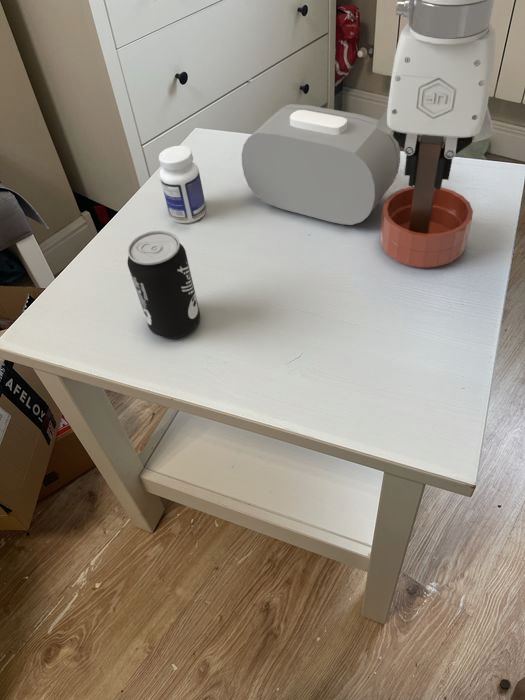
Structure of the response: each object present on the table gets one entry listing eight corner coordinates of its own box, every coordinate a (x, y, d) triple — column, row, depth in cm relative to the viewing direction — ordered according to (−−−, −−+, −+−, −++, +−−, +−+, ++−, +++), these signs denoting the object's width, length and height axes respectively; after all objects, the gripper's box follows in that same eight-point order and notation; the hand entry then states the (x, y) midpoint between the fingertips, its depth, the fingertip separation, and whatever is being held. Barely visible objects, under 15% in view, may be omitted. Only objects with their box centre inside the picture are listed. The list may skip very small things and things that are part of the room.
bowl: (468, 224, 79) (476, 190, 75) (459, 276, 72) (468, 241, 68) (388, 214, 82) (391, 181, 78) (372, 263, 75) (375, 229, 71)
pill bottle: (201, 199, 89) (190, 139, 81) (211, 218, 85) (199, 158, 78) (166, 208, 88) (151, 149, 80) (174, 228, 84) (159, 168, 77)
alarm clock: (397, 201, 84) (406, 113, 74) (371, 237, 79) (378, 147, 69) (276, 172, 92) (271, 89, 82) (246, 203, 87) (236, 119, 77)
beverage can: (189, 346, 68) (168, 269, 59) (140, 336, 70) (113, 261, 61) (208, 308, 72) (192, 231, 63) (162, 300, 74) (139, 224, 65)
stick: (428, 233, 75) (444, 134, 65) (425, 244, 74) (441, 144, 63) (409, 231, 76) (423, 132, 65) (406, 242, 74) (419, 142, 64)
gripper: (360, 26, 55) (353, 191, 68) (538, 31, 50) (493, 207, 64) (375, -1, 59) (366, 159, 73) (540, 2, 55) (498, 172, 69)
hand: (426, 180), depth 68 cm, fingers closed on stick, 2 cm apart
